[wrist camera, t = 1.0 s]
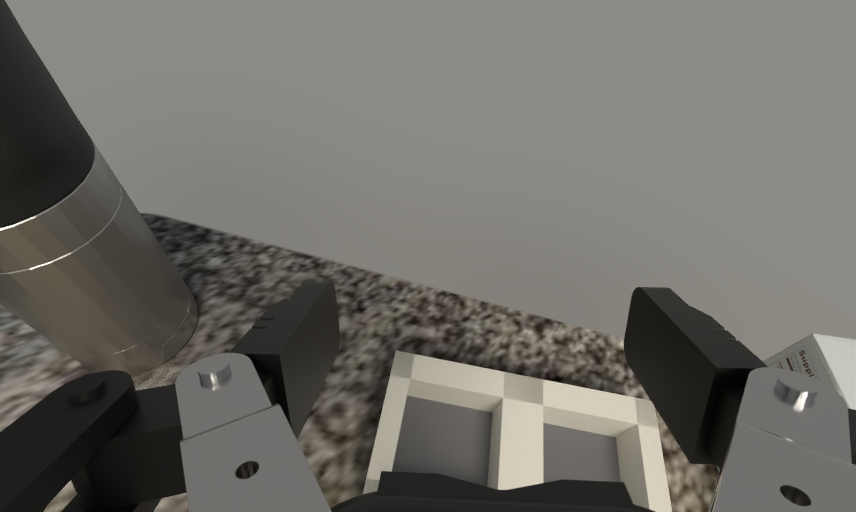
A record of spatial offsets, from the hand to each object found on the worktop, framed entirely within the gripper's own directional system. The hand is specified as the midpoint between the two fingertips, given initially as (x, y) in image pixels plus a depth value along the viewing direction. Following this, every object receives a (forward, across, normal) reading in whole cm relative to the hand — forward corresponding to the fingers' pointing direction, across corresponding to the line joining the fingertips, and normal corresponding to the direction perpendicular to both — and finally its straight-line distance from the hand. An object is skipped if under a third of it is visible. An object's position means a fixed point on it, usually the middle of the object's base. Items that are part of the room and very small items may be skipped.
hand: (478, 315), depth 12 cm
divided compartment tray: (+15, -3, +21) cm, 26 cm away
